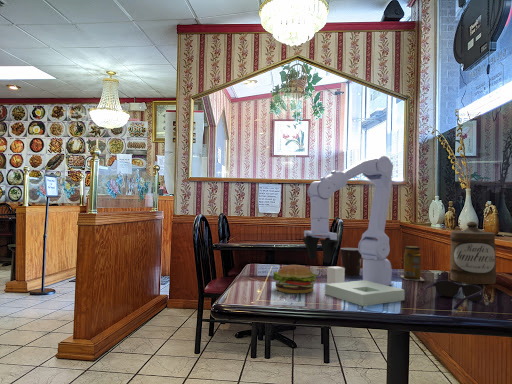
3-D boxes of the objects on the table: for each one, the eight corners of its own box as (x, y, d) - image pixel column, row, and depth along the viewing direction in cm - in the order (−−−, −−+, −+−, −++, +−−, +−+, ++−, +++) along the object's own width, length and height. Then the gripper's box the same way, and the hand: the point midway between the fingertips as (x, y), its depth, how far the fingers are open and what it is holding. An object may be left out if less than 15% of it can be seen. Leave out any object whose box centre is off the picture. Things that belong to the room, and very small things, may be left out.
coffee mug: (348, 271, 163) (348, 247, 163) (366, 274, 157) (366, 249, 157) (331, 274, 155) (331, 249, 156) (349, 277, 149) (350, 251, 149)
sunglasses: (486, 303, 113) (486, 285, 113) (466, 312, 102) (466, 293, 102) (437, 295, 123) (437, 278, 123) (415, 302, 112) (415, 285, 112)
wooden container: (454, 283, 142) (454, 221, 142) (446, 276, 156) (446, 220, 157) (501, 286, 138) (501, 222, 138) (489, 279, 152) (488, 221, 153)
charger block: (336, 285, 134) (336, 266, 134) (344, 287, 130) (344, 267, 130) (327, 286, 132) (327, 266, 132) (334, 288, 128) (335, 268, 128)
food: (319, 287, 130) (319, 263, 131) (313, 296, 117) (313, 269, 117) (278, 284, 134) (278, 260, 134) (268, 293, 121) (268, 266, 121)
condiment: (419, 277, 153) (419, 246, 154) (425, 281, 145) (425, 248, 146) (400, 276, 155) (400, 245, 155) (404, 280, 146) (404, 247, 147)
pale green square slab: (364, 289, 128) (364, 280, 128) (404, 300, 114) (404, 289, 114) (325, 294, 120) (325, 284, 120) (362, 306, 106) (362, 294, 106)
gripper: (296, 217, 131) (296, 258, 131) (324, 219, 119) (324, 264, 118) (313, 217, 135) (313, 257, 134) (342, 218, 122) (342, 263, 122)
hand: (319, 260), depth 127 cm, fingers open, 7 cm apart
